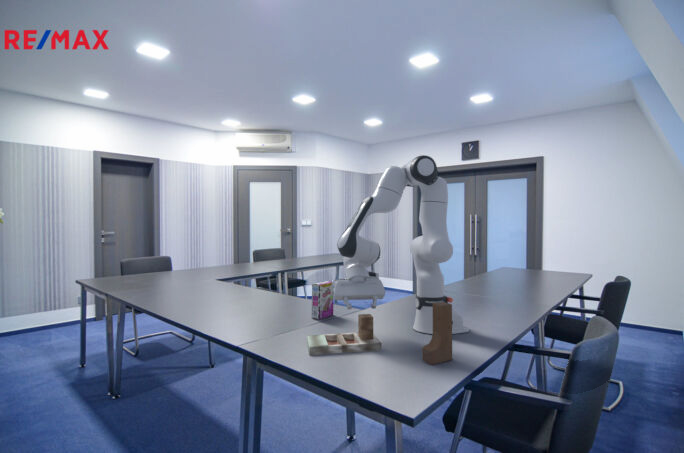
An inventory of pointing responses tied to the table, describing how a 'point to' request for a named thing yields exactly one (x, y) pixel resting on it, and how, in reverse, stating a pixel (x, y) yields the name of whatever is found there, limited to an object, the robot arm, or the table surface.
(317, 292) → the candy bar box
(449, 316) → the wooden block
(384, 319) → the table surface
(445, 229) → the robot arm
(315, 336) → the track
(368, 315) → the walnut block
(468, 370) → the table surface
